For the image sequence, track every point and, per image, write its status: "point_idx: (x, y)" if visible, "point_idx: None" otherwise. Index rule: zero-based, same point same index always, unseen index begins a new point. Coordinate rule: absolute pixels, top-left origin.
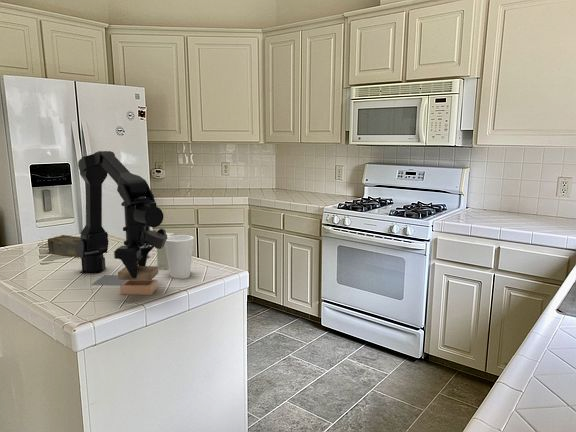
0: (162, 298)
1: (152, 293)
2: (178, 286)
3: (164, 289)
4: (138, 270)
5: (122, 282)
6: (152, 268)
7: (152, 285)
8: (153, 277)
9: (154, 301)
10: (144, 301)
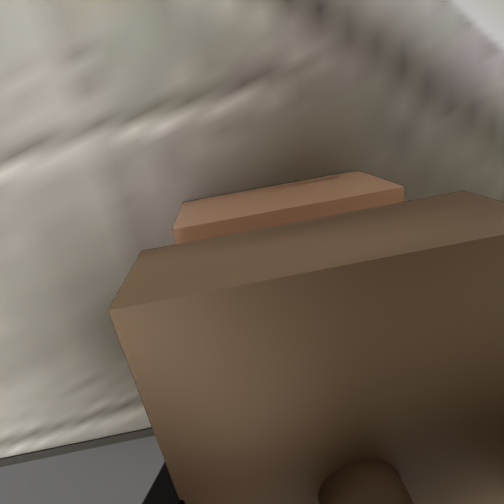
0: (407, 35)
1: (331, 178)
2: (33, 18)
3: (171, 136)
4: (426, 458)
5: (146, 488)
6: (290, 329)
7: (349, 194)
8: (366, 210)
9: (478, 78)
10: (472, 166)
